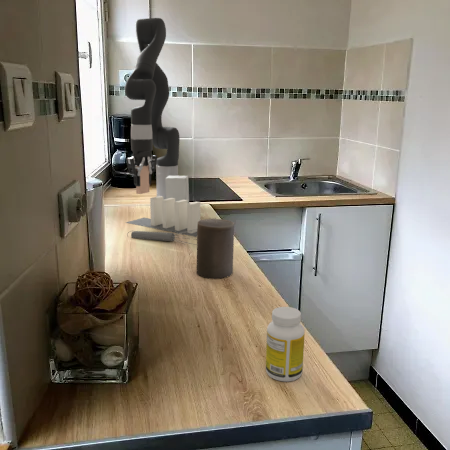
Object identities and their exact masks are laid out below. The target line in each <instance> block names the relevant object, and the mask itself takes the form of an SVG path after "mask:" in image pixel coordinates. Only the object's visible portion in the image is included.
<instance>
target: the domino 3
mask: <svg viewBox="0 0 450 450" xmlns="http://www.w3.org/2000/svg"><path fill="white" fill-rule="evenodd" d="M162 220H163V228H170V227H173V226H175V198H168V199H164V200H162Z"/></svg>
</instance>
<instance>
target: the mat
mask: <svg viewBox="0 0 450 450" xmlns="http://www.w3.org/2000/svg"><path fill="white" fill-rule="evenodd" d="M125 223H126V224H131V225H136V226H140V227H143V228H145V227H146V228H149V229H155V230H160V231H163V232H164V231H165V232H168V233H174V234H177V233H181V232H182V233H181V234H185V235H186V236H188V237H193V238H197V232H194V234H190V233H187V232H185V231H187V228H186V229H183V230H180V231H177V230H175V226H173V227H170V228H163V224H160V225H157V226H152V225H151V218H148V217H141V218H137V219H134V220H129V221H125ZM183 232H185V233H183ZM181 234H180V235H181ZM185 235H184V236H185Z"/></svg>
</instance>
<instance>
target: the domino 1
mask: <svg viewBox="0 0 450 450" xmlns="http://www.w3.org/2000/svg"><path fill="white" fill-rule="evenodd" d="M136 167H139V166H136ZM137 170H138V169H136V172H137ZM135 190H136V191H135V193H136V194H137V195H142V194H149V193H150V184H149V170H148V165H147V166H143V168H142V170H141V172H140V186H135Z"/></svg>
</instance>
